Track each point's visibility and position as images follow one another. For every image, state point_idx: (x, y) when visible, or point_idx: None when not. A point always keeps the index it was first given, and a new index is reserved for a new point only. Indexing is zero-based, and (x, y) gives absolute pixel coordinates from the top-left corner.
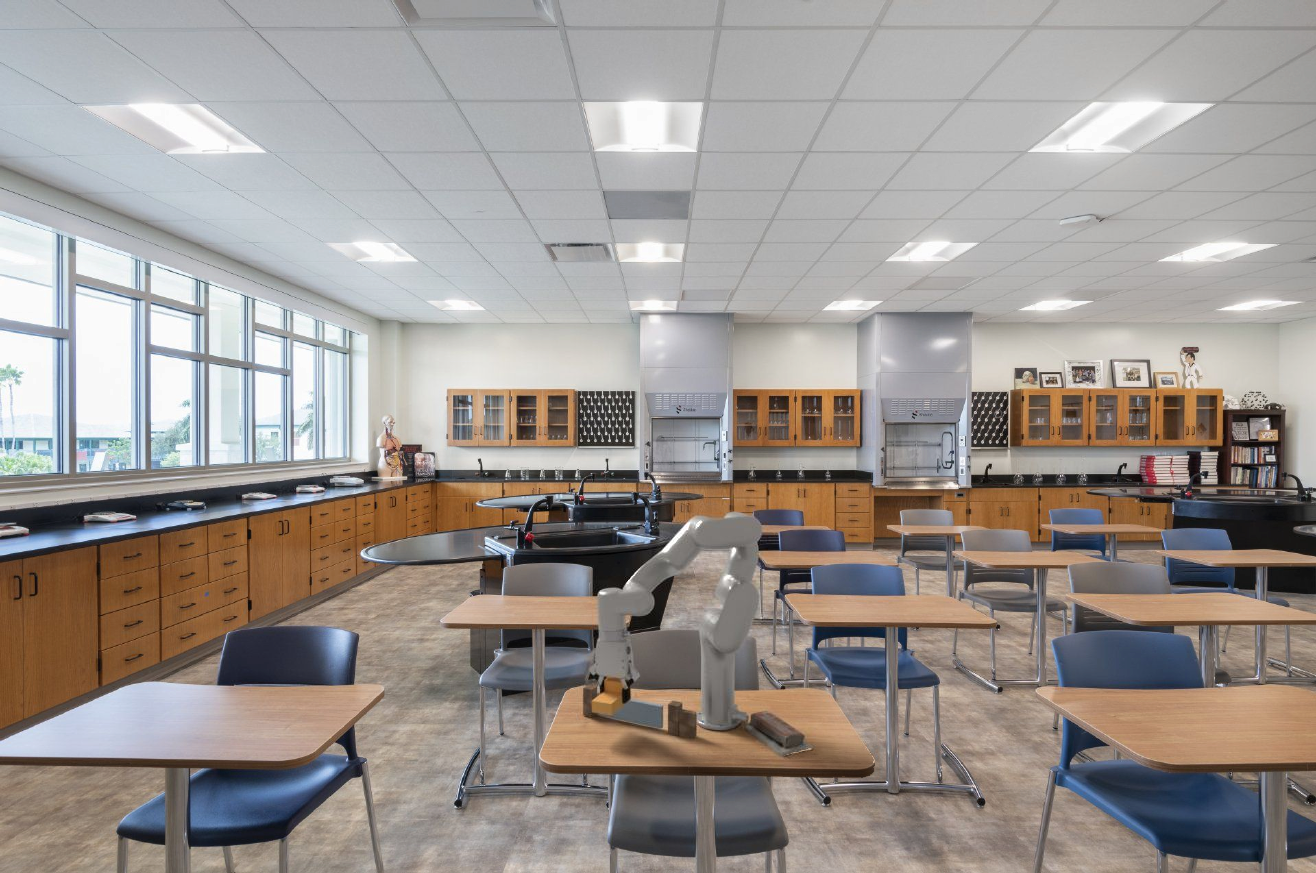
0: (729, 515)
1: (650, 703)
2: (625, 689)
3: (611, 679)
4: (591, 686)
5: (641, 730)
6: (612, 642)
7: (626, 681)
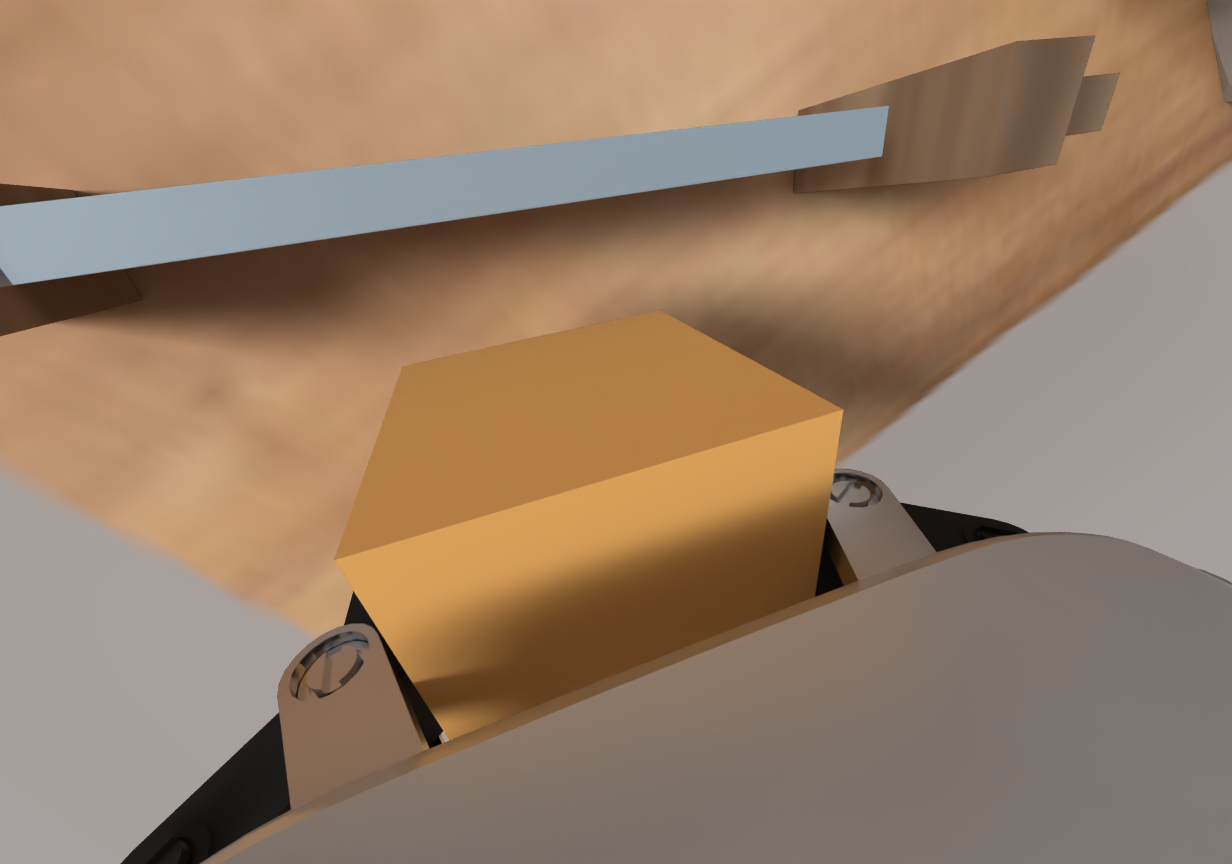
0: None
1: (774, 137)
2: None
3: (555, 664)
4: None
5: (641, 249)
6: None
7: (826, 545)
